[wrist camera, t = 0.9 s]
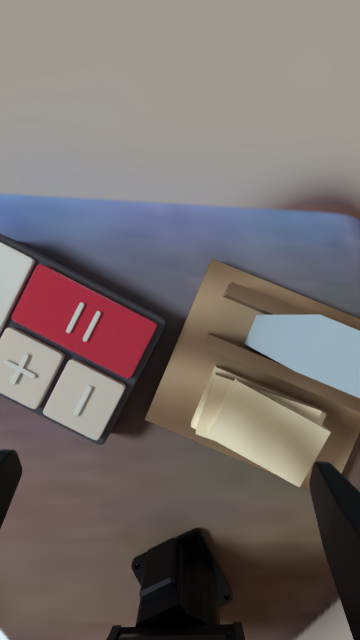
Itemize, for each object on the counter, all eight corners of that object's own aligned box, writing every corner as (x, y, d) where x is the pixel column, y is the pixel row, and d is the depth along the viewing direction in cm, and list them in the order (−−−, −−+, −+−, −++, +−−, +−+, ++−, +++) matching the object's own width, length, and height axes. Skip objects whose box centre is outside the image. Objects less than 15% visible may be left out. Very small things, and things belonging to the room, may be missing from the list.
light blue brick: (315, 373, 24) (435, 429, 12) (244, 343, 24) (295, 371, 12) (327, 344, 24) (461, 372, 12) (256, 314, 24) (319, 314, 12)
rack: (323, 490, 26) (345, 519, 22) (146, 414, 26) (139, 430, 22) (391, 335, 25) (425, 338, 22) (210, 261, 26) (213, 252, 22)
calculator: (99, 452, 23) (-84, 360, 23) (112, 429, 27) (-42, 352, 27) (167, 321, 23) (-18, 226, 22) (169, 319, 27) (14, 239, 27)
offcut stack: (294, 468, 24) (310, 492, 21) (190, 424, 25) (190, 440, 21) (321, 407, 24) (341, 421, 21) (215, 362, 25) (219, 370, 21)
